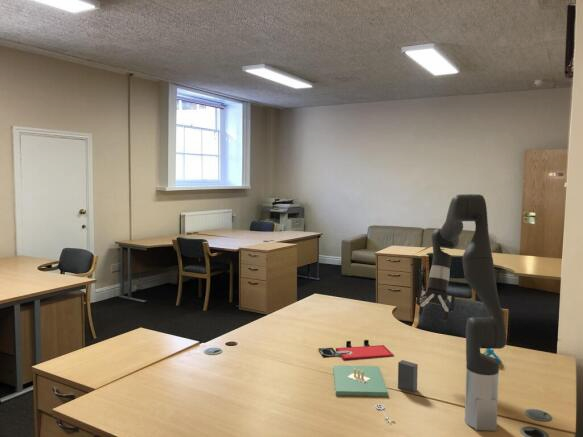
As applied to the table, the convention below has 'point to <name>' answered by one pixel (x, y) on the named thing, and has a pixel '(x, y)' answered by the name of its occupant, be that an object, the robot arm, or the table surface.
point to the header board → (359, 380)
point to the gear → (491, 353)
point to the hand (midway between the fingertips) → (432, 319)
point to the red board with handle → (357, 351)
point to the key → (382, 410)
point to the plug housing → (407, 376)
